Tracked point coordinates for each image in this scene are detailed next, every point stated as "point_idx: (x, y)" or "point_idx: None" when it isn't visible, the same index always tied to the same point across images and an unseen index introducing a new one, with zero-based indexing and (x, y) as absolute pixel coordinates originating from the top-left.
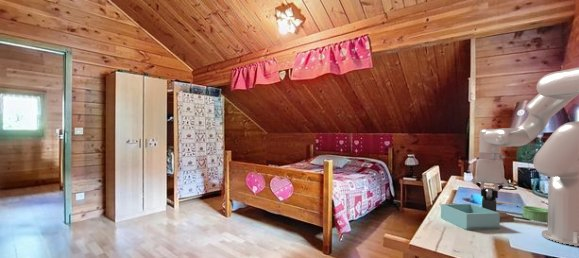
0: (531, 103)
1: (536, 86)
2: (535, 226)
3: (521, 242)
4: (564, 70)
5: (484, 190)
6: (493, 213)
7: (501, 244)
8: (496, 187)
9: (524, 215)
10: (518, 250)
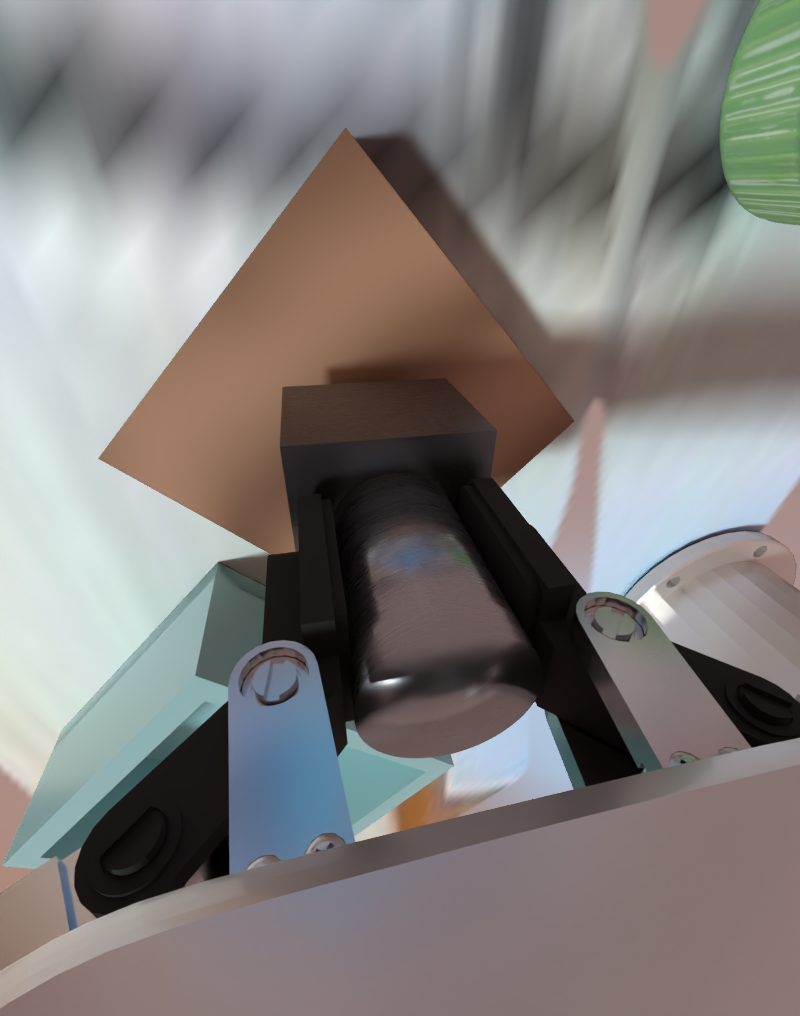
0: None
1: None
2: (659, 451)
3: (489, 746)
4: None
5: (347, 720)
6: (416, 791)
7: (419, 802)
8: (597, 770)
9: (736, 129)
10: (463, 804)
